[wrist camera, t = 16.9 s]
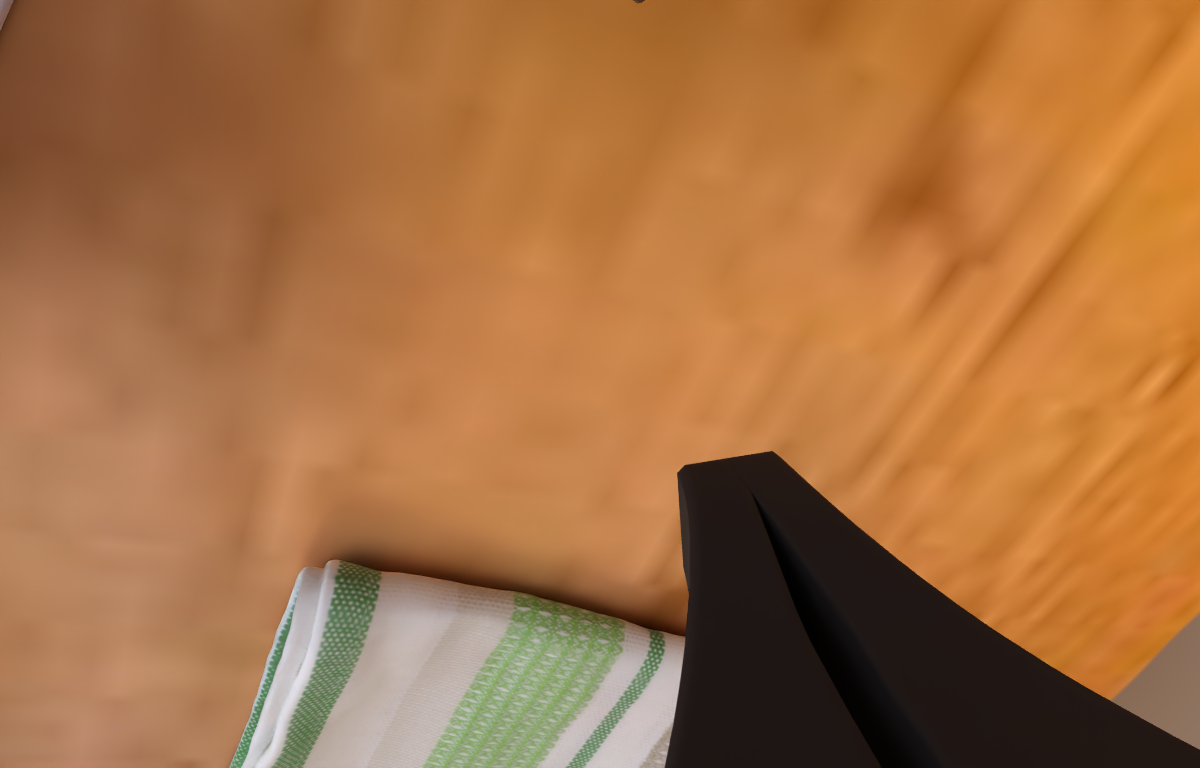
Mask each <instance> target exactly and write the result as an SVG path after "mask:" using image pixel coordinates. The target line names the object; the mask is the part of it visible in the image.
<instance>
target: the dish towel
mask: <svg viewBox="0 0 1200 768" xmlns="http://www.w3.org/2000/svg"><path fill="white" fill-rule="evenodd" d="M684 647H685V636H678V635H673V634H670V633H666V632H662V631H657V630H652V629H647V628H644V627H641V626H638V625H636V624H633V623H630V622H627V621H624V620H622V619H618V618H615V617H612V616H607V615H604V614H597V613H595V612H593V611H589V610H585V609H582V608H578V607H574V606H572V605H568V604H564V603H560V602H555V601H552V600H548V599H543V598H539V597H536V596H534V595H532V594H527V593H522V592H517V591H505V590H498V589H491V588H485V587H479V586H473V585H466V584H462V583H458V582H453V581H448V580H442V579H436V578H431V577H425V576H420V575H413V574H406V573H399V572H383V571H377V570H373V569H370V568H367V567H363V566H360V565H357V564H353V563H350V562H346V561H342V560H330V561H328V562H327V564H326V565H325V567H324V568H318V567H315V566H306V567H305V568H303V570H302V571H301V572H300V573H299V575H298V577H297V580H296V582H295V585H294V588H293V591H292V594H291V597H290V600H289V602H288V605H287V608H286V611H285V613H284V615H283V617H282V620H281V622H280V625H279V627H278V629H277V631H276V635H275V639H274V643H273V646H272V649H271V651H270V653H269V655H268V659H267V663H266V666H265V670H264V672H263V676H262V679H261V682H260V686H259V691H258V693H257V696H256V699H255V701H254V704H253V708H252V712H251V715H250V718H249V721H248V723H247V725H246V727H245V729H244V731H243V735H242V738H241V740H240V743H239V746H238V748H237V751H236V753H235V756H234V758H233V760H232V763H231V766H230V768H665V763H666V758H667V753H668V748H669V743H670V737H671V732H672V727H673V722H674V716H675V710H676V704H677V697H678V691H679V685H680V678H681V671H682V663H683V655H684Z"/></svg>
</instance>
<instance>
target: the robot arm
mask: <svg viewBox="0 0 1200 768" xmlns="http://www.w3.org/2000/svg"><path fill="white" fill-rule="evenodd" d="M13 1H14V0H0V31H1V28H2V26H3V24H4V21H5V19H6V17H7V15H8V12H9V10H10V8H11V5H12V3H13ZM677 477H678V492H679V507H680V522H681V537H682V552H683V567H684V572H685V576H686V581H687V586H688V591H689V601H688V613H687V624H686V636H685V647H684V655H683V663H682V671H681V678H680V685H679V691H678V697H677V704H676V710H675V716H674V722H673V727H672V732H671V737H670V743H669V748H668V753H667V758H666V763H665V768H1200V750H1199V749H1197V748H1195V747H1193V746H1191V745H1190V744H1188V743H1186V742H1184V741H1182V740H1180V739H1178V738H1176V737H1174V736H1172V735H1171V734H1169V733H1167V732H1165V731H1163V730H1162V729H1160V728H1158V727H1156V726H1154V725H1153V724H1151V723H1149V722H1147V721H1145V720H1144V719H1141V718H1140V717H1138V716H1136V715H1135V714H1133V713H1131V712H1129V711H1127V710H1126V709H1124V708H1122V707H1120V706H1119V705H1117V704H1115V703H1113V702H1111V701H1110V700H1108V699H1106V698H1104V697H1102V696H1101V695H1099V694H1097V693H1095V692H1093V691H1092V690H1090V689H1088V688H1086V687H1085V686H1083V685H1081V684H1080V683H1078V682H1076V681H1075V680H1073V679H1071V678H1070V677H1068V676H1066V675H1065V674H1063V673H1061V672H1060V671H1058V670H1056V669H1055V668H1053V667H1051V666H1050V665H1048V664H1046V663H1045V662H1043V661H1042V660H1040V659H1039V658H1037V657H1035V656H1034V655H1032V654H1031V653H1029V652H1028V651H1026V650H1025V649H1023V648H1021V647H1020V646H1018V645H1017V644H1015V643H1014V642H1012V641H1011V640H1009V639H1007V638H1006V637H1004V636H1003V635H1001V634H1000V633H998V632H997V631H995V630H993V629H992V628H991V627H989V626H988V625H986V624H985V623H983V622H982V621H980V620H979V619H977V618H976V617H975V616H973V615H972V614H970V613H969V612H968V611H966V610H965V609H963V608H962V607H960V606H959V605H958V604H956V603H955V602H954V601H952V600H951V599H949V598H948V597H947V596H945V595H944V594H943V593H941V592H940V591H939V590H937V589H936V588H935V587H933V586H932V585H931V584H929V583H928V582H927V581H925V580H924V579H922V578H921V577H920V576H919V575H917V574H916V573H915V572H913V571H912V570H911V569H910V568H908V567H907V566H906V565H904V564H903V563H902V562H901V561H899V560H898V559H897V558H896V557H894V556H893V555H892V554H891V553H889V552H888V551H887V550H886V549H885V548H883V547H882V546H881V545H880V544H879V543H877V542H876V541H875V540H874V539H872V538H871V537H870V536H869V535H868V534H866V533H865V532H864V531H863V530H861V529H860V528H859V527H858V526H857V525H855V524H854V523H853V522H852V521H851V520H850V519H848V518H847V517H846V516H845V515H844V514H843V513H842V512H840V511H839V510H838V509H837V508H836V507H835V506H834V505H832V504H831V503H830V502H829V501H828V500H827V499H826V498H825V497H823V496H822V495H821V494H820V493H819V492H818V491H817V490H816V489H814V488H813V487H812V486H811V485H810V484H809V483H808V482H807V481H806V480H805V479H803V478H802V477H801V476H800V475H799V474H798V473H797V472H796V471H795V470H794V469H793V468H792V467H790V466H789V465H788V464H787V463H786V462H785V461H784V460H783V459H782V458H781V457H779V456H778V455H777V454H776V453H774V452H773V451H770V452H764V453H757V454H751V455H745V456H739V457H732V458H726V459H720V460H714V461H707V462H701V463H695V464H689V465H685V466H684V467H683V468H682V469H681V470H680V471H679V472H678V473H677Z"/></svg>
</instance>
